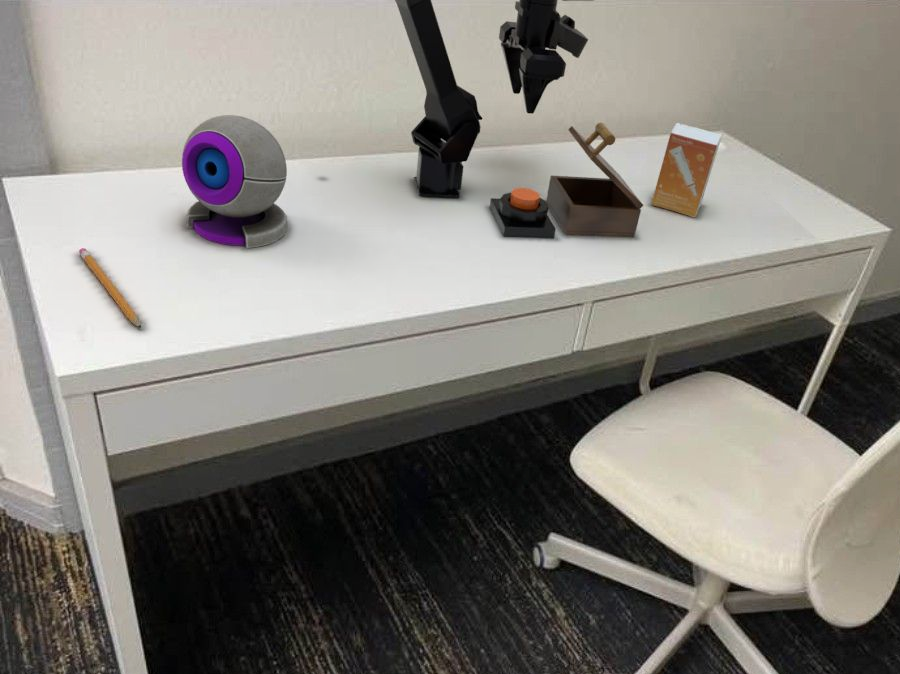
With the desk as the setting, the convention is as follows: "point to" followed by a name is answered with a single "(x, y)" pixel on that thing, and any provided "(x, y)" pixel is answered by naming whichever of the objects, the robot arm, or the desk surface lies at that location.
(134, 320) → the pencil
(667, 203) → the small box
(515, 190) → the release button
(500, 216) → the panel
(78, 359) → the desk surface
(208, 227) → the webcam
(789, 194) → the desk surface
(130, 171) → the desk surface
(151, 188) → the desk surface
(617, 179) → the lid
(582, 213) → the storage box
